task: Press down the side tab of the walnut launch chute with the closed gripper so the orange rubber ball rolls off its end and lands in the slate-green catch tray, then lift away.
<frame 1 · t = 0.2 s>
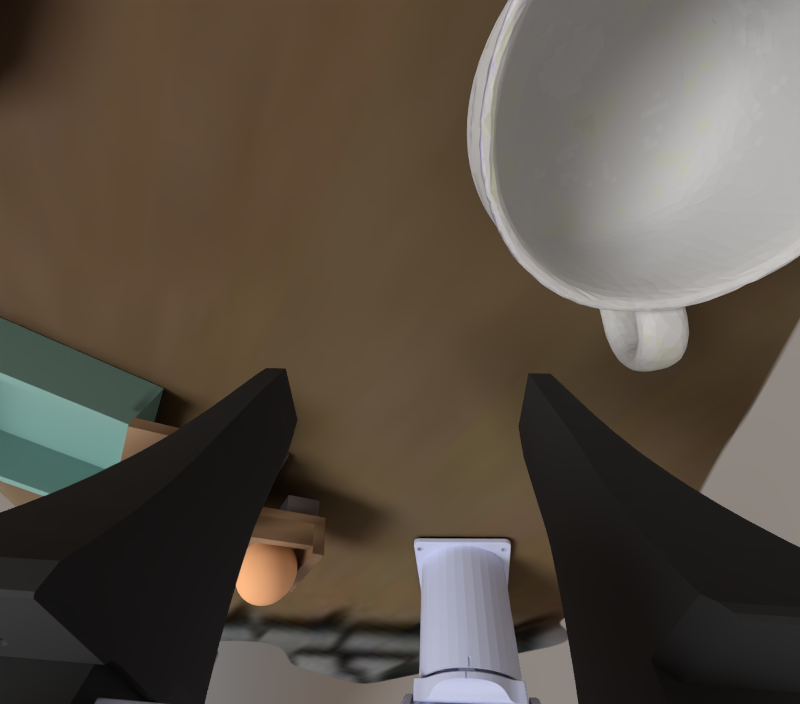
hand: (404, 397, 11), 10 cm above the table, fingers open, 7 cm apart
launch chute: (230, 509, 25), point 5 cm above the table, hinge at -12.0°, touching ball
ball: (267, 570, 26), point 6 cm above the table, tilted 7°, touching launch chute
catch tray: (40, 394, 27), on the table
teacup: (583, 156, 17), on the table
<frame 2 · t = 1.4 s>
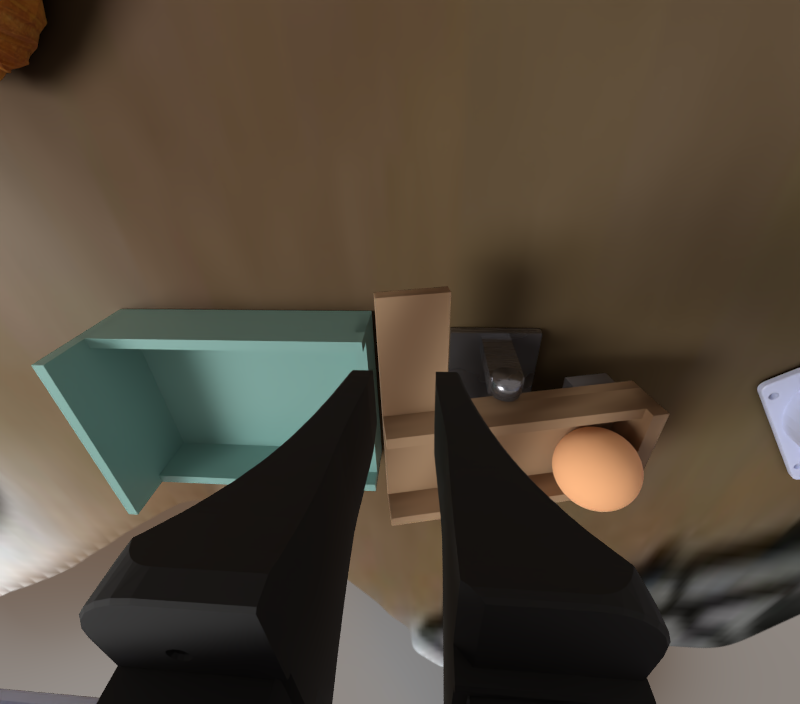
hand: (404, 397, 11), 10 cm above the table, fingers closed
launch chute: (515, 401, 19), point 5 cm above the table, hinge at -12.0°, touching ball
ball: (595, 467, 19), point 6 cm above the table, tilted 7°, touching launch chute
catch tray: (263, 386, 25), on the table
launcher stand: (487, 391, 24), on the table
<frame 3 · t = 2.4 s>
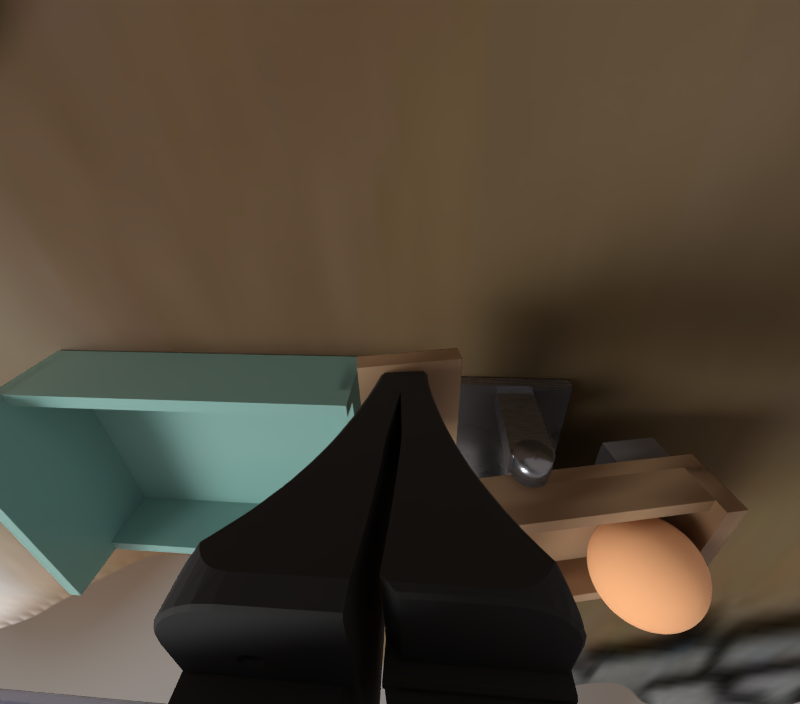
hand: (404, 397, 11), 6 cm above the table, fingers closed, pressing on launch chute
launch chute: (542, 483, 14), point 5 cm above the table, hinge at -11.2°, touching gripper
ball: (644, 569, 15), point 6 cm above the table, tilted 6°
catch tray: (234, 438, 21), on the table
launcher stand: (501, 449, 20), on the table
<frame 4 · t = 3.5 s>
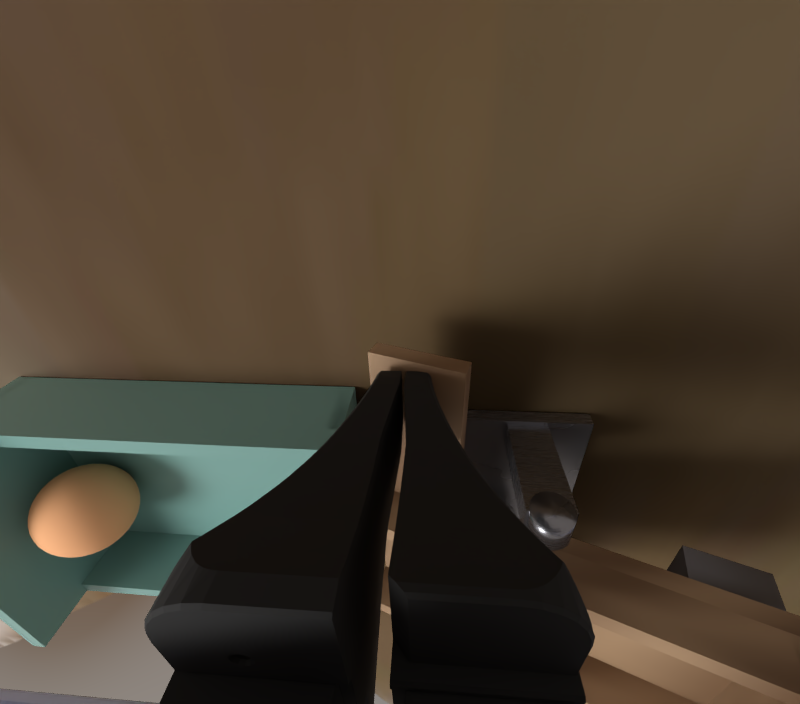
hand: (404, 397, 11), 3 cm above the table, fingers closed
launch chute: (560, 549, 12), point 5 cm above the table, hinge at 19.2°, touching gripper
ball: (87, 508, 18), point 2 cm above the table, tilted 7°, touching catch tray
catch tray: (217, 470, 19), on the table
launcher stand: (511, 485, 18), on the table
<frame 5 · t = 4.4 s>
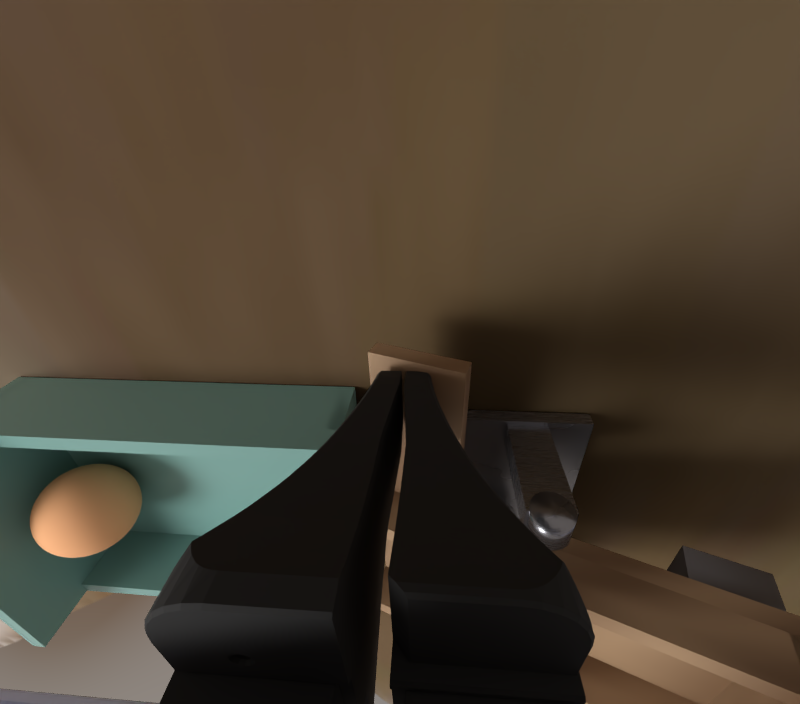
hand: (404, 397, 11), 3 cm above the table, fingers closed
launch chute: (560, 549, 12), point 5 cm above the table, hinge at 19.2°, touching gripper
ball: (89, 508, 18), point 2 cm above the table, tilted 10°, touching catch tray
catch tray: (217, 470, 19), on the table
launcher stand: (511, 486, 18), on the table
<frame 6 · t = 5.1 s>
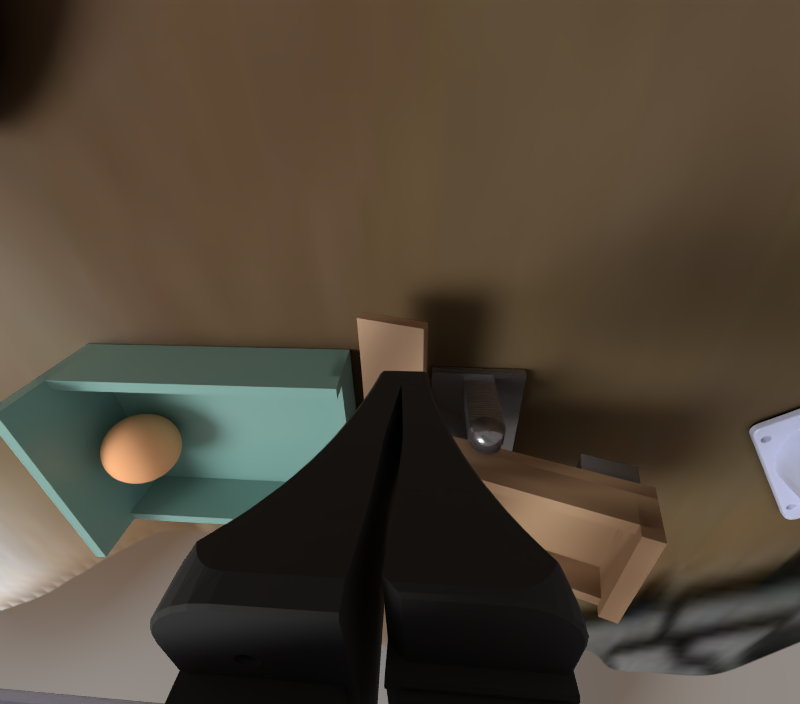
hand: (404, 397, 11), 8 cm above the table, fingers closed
launch chute: (494, 456, 17), point 5 cm above the table, hinge at 17.2°
ball: (143, 447, 22), point 2 cm above the table, tilted 12°, touching catch tray
catch tray: (239, 421, 24), on the table
launcher stand: (471, 429, 23), on the table
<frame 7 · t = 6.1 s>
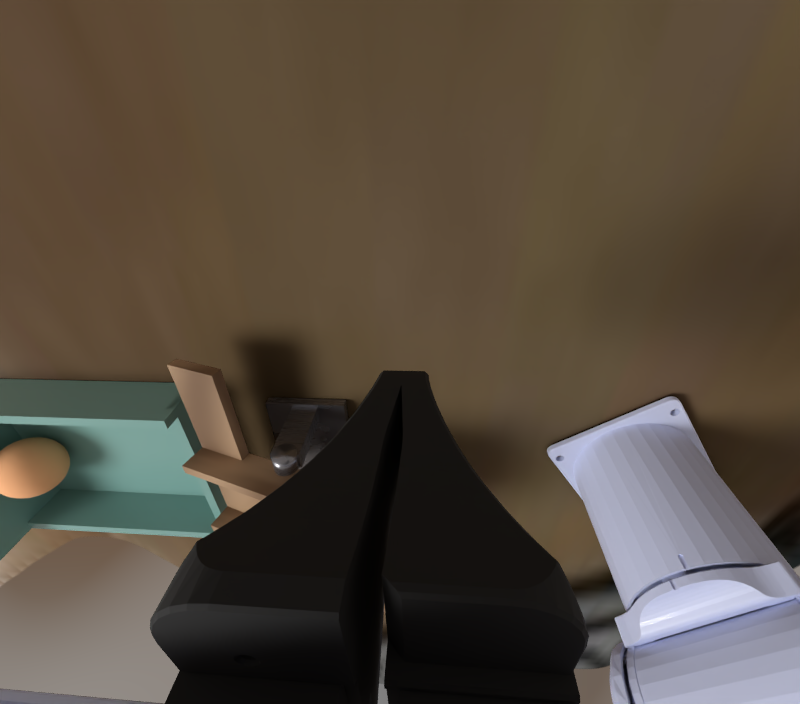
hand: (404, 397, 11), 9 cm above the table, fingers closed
launch chute: (294, 477, 21), point 5 cm above the table, hinge at 17.1°
ball: (31, 467, 26), point 2 cm above the table, tilted 16°, touching catch tray
catch tray: (121, 442, 28), on the table
launcher stand: (317, 449, 27), on the table
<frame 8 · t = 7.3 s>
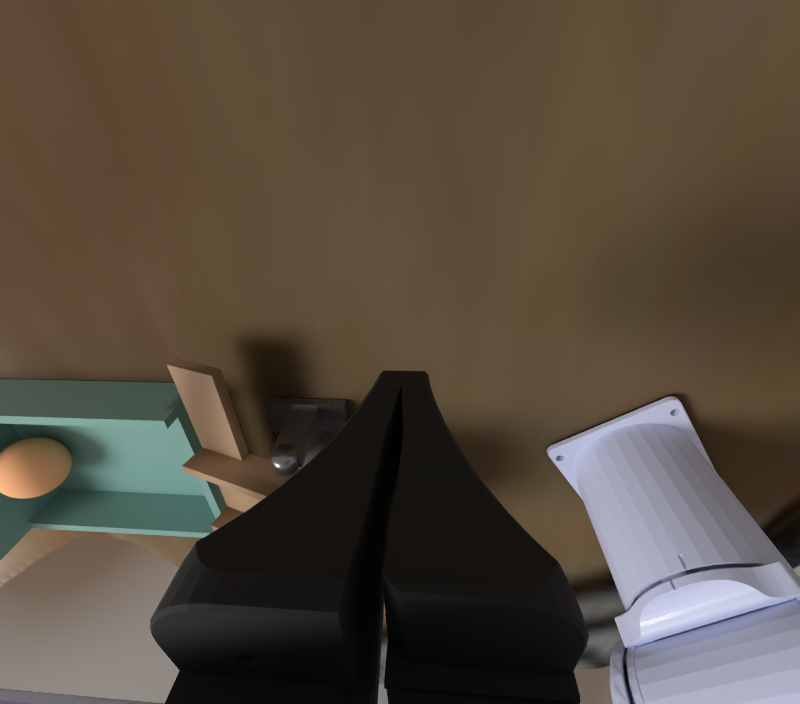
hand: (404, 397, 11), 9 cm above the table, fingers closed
launch chute: (294, 477, 21), point 5 cm above the table, hinge at 17.1°
ball: (33, 467, 26), point 2 cm above the table, tilted 19°, touching catch tray
catch tray: (121, 442, 28), on the table
launcher stand: (317, 449, 27), on the table
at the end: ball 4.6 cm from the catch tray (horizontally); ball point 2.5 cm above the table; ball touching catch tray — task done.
